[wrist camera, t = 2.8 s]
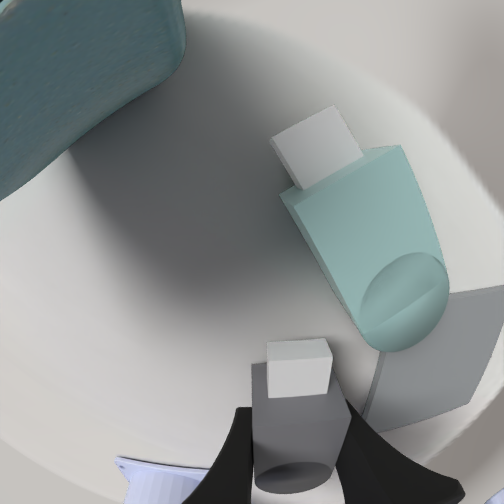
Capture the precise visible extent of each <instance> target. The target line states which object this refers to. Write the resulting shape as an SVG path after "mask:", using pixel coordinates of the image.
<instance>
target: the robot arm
mask: <svg viewBox="0 0 504 504" xmlns="http://www.w3.org/2000/svg"><path fill="white" fill-rule="evenodd" d="M345 401H346V403H347V406H348V409H349V411H350V414H351V420H350V424H349V427H348V430H347V433H346V436H345V439H344V442H343V445H342V448H341V450H340V453H339V456H338V459H337V461H336V464H335V466H336V469H337V472H338V475H339V479H340V482H341V485H342V489H343V493H344V499H345V504H458V503H459V502H460V501H461V500H462V499H463V498H464V497H465V492H464V490H463V488H462V486H461V484H460V483H459V481H458V480H456V479H453V478H450V477H447V476H444V475H441V474H438V473H436V472H433V471H431V470H429V469H427V468H425V467H423V466H421V465H419V464H418V463H416V462H414V461H412V460H411V459H409V458H407V457H406V456H404V455H403V454H402V453H400V452H399V451H397V450H396V449H395V448H393V447H392V446H391V445H390V444H389V443H387V442H386V441H385V440H384V439H383V438H382V437H381V436H380V435H378V434H377V433H376V432H375V431H374V430H373V429H372V428H371V427H370V426H369V424H368V423H367V422H366V421H365V420H364V419H363V418H362V417H361V416H360V415H359V413H358V412H357V411H356V410H355V409H354V408H353V406H352V405H351V404H350V403H349V402H348V400H347V399H345ZM114 462H115V464H116V465H117V467H118V468H119V469H120V471H121V472H122V474H123V475H124V476H125V478H126V479H127V480H128V482H129V486H128V490H127V493H126V496H125V500H124V503H123V504H251V489H252V478H253V467H254V454H253V429H252V407H238V408H237V409H236V412H235V417H234V420H233V423H232V426H231V429H230V432H229V434H228V436H227V439H226V441H225V443H224V445H223V447H222V449H221V451H220V453H219V455H218V456H217V458H216V460H215V462H214V463H213V465H212V467H211V468H210V470H204V469H192V468H181V467H173V466H165V465H158V464H152V463H146V462H140V461H135V460H130V459H126V458H121V457H116V458H115V460H114ZM485 504H504V488H503V489H501V490H500V491H499V492H497V493H496V494H495V495H493V496H492V497H491V498H490V499H489V500H487V501H486V502H485Z"/></svg>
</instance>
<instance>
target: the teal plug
mask: <svg viewBox="0 0 504 504" xmlns="http://www.w3.org/2000/svg"><path fill="white" fill-rule="evenodd" d="M269 143H270V144H271V146H272V147H273V149H274V150H275V152H276V154H277V155H278V157H279V159H280V160H281V162H282V164H283V165H284V167H285V168H286V170H287V172H288V173H289V175H290V177H291V179H292V180H293V182H294V184H295V185H294V186H293V187H291V188H289V189H287V190H286V191H284V192H282V193H281V194H279V196H280V198H281V200H282V201H283V203H284V205H285V206H286V208H287V210H288V211H289V213H290V215H291V216H292V218H293V220H294V222H295V223H296V225H297V227H298V229H299V230H300V232H301V234H302V236H303V237H304V239H305V241H306V243H307V244H308V246H309V248H310V250H311V251H312V253H313V255H314V257H315V259H316V260H317V262H318V264H319V266H320V268H321V270H322V271H323V273H324V275H325V277H326V279H327V281H328V282H329V284H330V286H331V288H332V290H333V291H334V293H335V295H336V296H337V298H338V299H339V301H340V302H341V304H342V305H343V307H344V308H345V310H346V311H347V313H348V315H349V316H350V318H351V319H352V321H353V322H354V324H355V325H356V327H357V329H358V330H359V332H360V333H361V335H362V336H363V338H364V340H365V341H366V342H367V343H368V344H369V345H370V346H371V347H373V348H375V349H376V350H379V351H383V352H398V351H402V350H405V349H408V348H410V347H412V346H414V345H416V344H417V343H419V342H420V341H422V340H423V339H424V338H425V337H426V336H428V335H429V334H430V333H431V331H432V330H433V329H434V328H435V327H436V325H437V324H438V322H439V321H440V319H441V317H442V315H443V313H444V311H445V308H446V306H447V302H448V297H449V279H448V274H447V270H446V266H445V263H444V259H443V255H442V252H441V248H440V245H439V242H438V238H437V235H436V232H435V229H434V226H433V223H432V220H431V217H430V214H429V212H428V209H427V206H426V203H425V201H424V198H423V195H422V193H421V190H420V188H419V185H418V183H417V181H416V178H415V176H414V173H413V171H412V169H411V167H410V164H409V162H408V160H407V158H406V156H405V153H404V151H403V149H402V147H401V145H395V146H387V147H380V148H373V149H366V150H361V149H360V147H359V145H358V144H357V142H356V140H355V138H354V136H353V135H352V133H351V131H350V129H349V128H348V126H347V124H346V122H345V121H344V119H343V117H342V116H341V114H340V112H339V111H338V109H337V108H336V106H335V104H334V105H332V106H330V107H328V108H326V109H324V110H322V111H320V112H318V113H316V114H314V115H312V116H310V117H308V118H306V119H304V120H302V121H300V122H298V123H297V124H295V125H293V126H291V127H289V128H287V129H286V130H284V131H282V132H280V133H278V134H276V135H275V136H273V137H271V139H270V141H269Z"/></svg>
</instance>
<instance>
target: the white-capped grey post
mask: <svg viewBox="0 0 504 504" xmlns="http://www.w3.org/2000/svg"><path fill="white" fill-rule="evenodd" d="M332 360H333V355H332V353H331V350H330V348H329V346H328V343H327V341H326V339H325V338H323V339H310V340H295V341H275V342H267V363H262V364H252V429H253V454H254V478H255V485H256V486H257V487H258V488H259V489H261V490H263V491H266V492H269V493H275V494H292V493H299V492H304V491H307V490H310V489H313V488H315V487H318V486H320V485H321V484H323V483H324V482H326V481H327V480H328V479H329V478H330V476H331V474H332V472H333V469H334V467H335V464H336V461H337V459H338V456H339V453H340V450H341V448H342V445H343V442H344V439H345V436H346V433H347V430H348V427H349V424H350V420H351V414H350V411H349V409H348V406H347V403H346V401H345V398H344V396H343V393H342V390H341V388H340V385H339V383H338V380H337V378H336V375H335V372H334V370H333V367H332Z"/></svg>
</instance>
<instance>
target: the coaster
mask: <svg viewBox="0 0 504 504" xmlns="http://www.w3.org/2000/svg"><path fill="white" fill-rule="evenodd" d="M503 323H504V285H501V286H495V287H490V288H484V289H478V290H471V291H465V292H458V293H451V294H449V297H448V302H447V306H446V308H445V311H444V313H443V315H442V317H441V319H440V321H439V322H438V324H437V325H436V327H435V328H434V329H433V330H432V331H431V333H430V334H429V335H428V336H426V337H425V338H424V339H423V340H422V341H420V342H419V343H417V344H416V345H414V346H412V347H410V348H408V349H405V350H402V351H398V352H383V351H380V356H379V360H378V364H377V367H376V371H375V375H374V379H373V382H372V386H371V389H370V393H369V396H368V399H367V402H366V406H365V409H364V412H363V415H362V418H363V419H364V420H365V421H366V422H367V423H368V424H369V426H370V427H371V428H372V429H373V430H374V431H375V432H376V433H380V432H384V431H388V430H392V429H396V428H399V427H403V426H406V425H410V424H413V423H416V422H419V421H423V420H426V419H429V418H432V417H434V416H437V415H440V414H443V413H445V412H448V411H451V410H453V409H456V408H458V407H461V406H463V405H466V404H468V403H469V402H470V400H471V398H472V396H473V394H474V392H475V390H476V388H477V386H478V384H479V382H480V380H481V378H482V376H483V374H484V371H485V369H486V367H487V365H488V362H489V360H490V358H491V355H492V353H493V350H494V348H495V345H496V342H497V340H498V337H499V334H500V331H501V328H502V326H503Z"/></svg>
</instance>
